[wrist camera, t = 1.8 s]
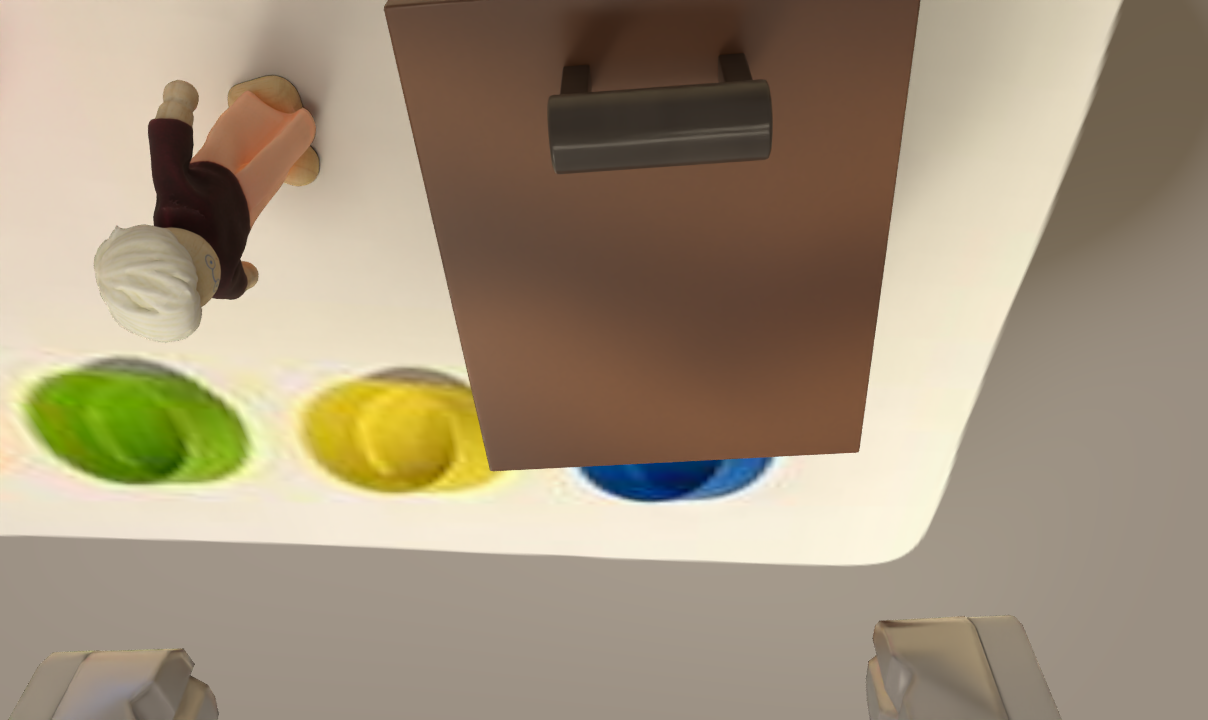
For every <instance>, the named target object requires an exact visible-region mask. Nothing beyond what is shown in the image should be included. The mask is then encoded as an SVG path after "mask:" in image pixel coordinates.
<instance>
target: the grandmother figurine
mask: <svg viewBox="0 0 1208 720" xmlns="http://www.w3.org/2000/svg"><path fill="white" fill-rule="evenodd" d="M163 101H164V103H163V104H161V105H160V106H159V109H158V111H157V115H156V118H155V119H152V120H151V121H150V122H149V125H148V137H149V144H150V155H151V168H152V177H153V182H154V187H155V191H156V193H157V200H156V207H155V211H154V216H153V219H154V226H150V225H138V226H133V227H130V228H127V229H123V228H119V227H118V226H116V227H115V230H113V232H112V234H111V235H110V237H109V239H107V240H105V241H104V242H103V243H102V244H101V246H100V247H99V248H98V250H97V253H96V255H95V259H94V269H95V278H96V281H97V285H98V287H99V291H100V295H101V297H102V299H103V300H104V302H105V304H106V305H107V306H108V308H109V311H110V313H111V315H112V317H113V318H114V320H115V321H116V322H117V323H118V324H119V325H120V326H121V327H123V328H124V329H126V330H127V331H129V332H131V333H133V334H136V335H138V336H141V337H144V338H146V339H149V340H152V341H157V342H164V343H167V342H175V341H179V340H182V339H185V338H187V337H188V336H189V335H191V334H192V333H193V332H194V331H195V330H196V329H197V328H198V327H199V324H200V321H201V316H202V308H201V307H202V306H204V305H205V304H206V303H207V302H208V301H209V300H210V299H211V298H215V299H229V300H232V299H237V298H239V297H240V296H241V295H243V293H244V292H245V291H246V290H248V289H249V288H252V287H253V286H254V285H255V284H256V283H257V281H258V271H257V269H256V267H255V266H254V265H252V264H251V263H249V262H245V261H241V260H240V258H241V256H242V254H243V251H244V249H245V246H246V242H247V237H248V235H249V233H250V231H251V228H252V226H253V224H254V222H255V221H256V219H257V218H258V216H259V215H260V213H261V212H262V210H263V209H264V208H265V206H266V205H267V204H268V202H269V201H270V200H271V198H272V197H273V196H274V195H275V193H276V192H277V191H278V190H279V188H280V187H281V185H282V184H283V182H284V183H287V184H290V185H294V186H303V185H307V184H309V183H311V182H313V181H314V180H315V179H316V177H317V175H318V173H319V159H318V156H317V154H316V153H315V151H314V150H313V149H312V148H311V147H310V144H311V143H312V142H313V140H314V137H315V132H316V126H315V122H314V119H313V118H312V116H311V114H310V112H309V111H308V110H306V109H304V108H302V103H301V100H300V97H299V94H298V92H297V90H296V89H295V87H294V86H293V85H292V84H291V83H290V82H289V81H287V80H286V79H284V78H282V77H278V76H265V77H261V78H257V79H254V80H251V81H247V82H243V83H240V84H237V85H235V86H234V87H232V88H231V89H230V91H229V93H228V106H229V108H228V109H227V110H226V111H225V112H224V113H223V114H222V115H221V116H220V117H219V118H218V120H217V122H216V123H215V125H214V126H213V127H212V129H211V130H210V132H209V134H208V136H207V139H206V142H205V143H204V145H203V147H202V148H201V149H200V150H199V152H198V153H197V154H196V155H195V156H194V157H193V158H192V153H193V145H194V144H193V128H192V125H193V120H194V116H193V111H194V110H195V109H196V107H197V105H198V101H199V95H198V92H197V90H196V89H195V88H194V87H193V85H191V84H189V83H188V82H185V81H182V80H176V81H172V82H170V83H168V84H167V85H166V86H165V89H164V92H163Z"/></svg>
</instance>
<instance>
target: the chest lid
mask: <svg viewBox="0 0 1208 720" xmlns="http://www.w3.org/2000/svg"><path fill="white" fill-rule="evenodd" d="M919 7H920V0H388V1H387V2H386V4H385V6H384V11H385V16H386V20H387V24H388V29H389V33H390V37H391V42H392V46H393V51H394V55H395V59H396V64H397V68H398V72H399V77H400V81H401V85H402V90H403V94H404V98H405V103H406V107H407V111H408V116H409V120H410V124H411V129H412V133H413V137H414V142H415V146H416V150H417V155H418V159H419V164H420V168H421V172H422V177H423V181H424V185H425V190H426V194H427V198H428V203H429V207H430V211H431V216H432V220H433V224H434V229H435V233H436V237H437V242H438V246H439V250H440V255H441V259H442V264H443V268H444V272H445V277H446V281H447V285H448V290H449V294H450V298H451V303H452V307H453V311H454V316H455V320H456V324H457V329H458V333H459V337H460V342H461V346H462V350H463V355H464V359H465V363H466V368H467V372H468V377H469V381H470V385H471V390H472V394H473V398H474V403H475V407H476V411H477V416H478V420H479V424H480V429H481V433H482V437H483V442H484V446H485V450H486V455H487V459H488V463H489V468H490V470H491V471H506V470H525V469H545V468H564V467H584V466H603V465H623V464H642V463H662V462H681V461H701V460H720V459H740V458H759V457H779V456H798V455H818V454H837V453H856V452H859V448H860V441H861V434H862V426H863V419H864V412H865V404H866V397H867V390H868V382H869V375H870V367H871V360H872V353H873V345H874V338H875V331H876V323H877V316H878V309H879V301H880V294H881V287H882V279H883V272H884V265H885V257H886V250H887V242H888V235H889V228H890V220H891V213H892V206H893V198H894V191H895V184H896V176H897V169H898V162H899V154H900V147H901V140H902V132H903V125H904V117H905V110H906V103H907V95H908V88H909V81H910V73H911V66H912V59H913V51H914V44H915V37H916V29H917V22H918V15H919Z"/></svg>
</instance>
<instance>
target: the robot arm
mask: <svg viewBox="0 0 1208 720" xmlns="http://www.w3.org/2000/svg"><path fill="white" fill-rule="evenodd" d="M873 643H874V647H875V651H876V656H875V657H873V658H872V659H871V660H869V661H868V668H867V675H866V690H867V705H868V711H869V717H870V720H1062V719H1061V717H1060V714H1059V711H1058V709H1057V707H1056V705H1055V702H1054V699H1053V697H1052V695H1051V692H1050V690H1049V687H1048V685H1047V683H1046V681H1045V678H1044V675H1043V673H1042V670H1041V668H1040V666H1039V663H1038V661H1037V659H1036V656H1035V654H1034V652H1033V649H1032V646H1031V644H1030V642H1029V639H1028V637H1027V635H1026V632H1025V630H1024V627H1023V625H1022V624H1021V623H1020V622H1019V621H1018V620H1017V618H1016V617H1014V616H1011V615H1002V616H982V617H965V616H957V617H942V618H941V617H939V618H922V619H903V620H886V621H879V622H878V623H877V624H876V625H875V629H874V634H873ZM194 665H195V664H194V662H193V661H192V659H191V658H190V657H189V655H188V654H187V653H186V651H185V650H184V649H152V650H119V651H98V650H96V651H74V652H53V653H52V654H51V655H50V656H48V657H47V658H46V659H45V660H44V661H43V662H42V663H41V664H40V665H39V666H38V667H37V669H36V671H35V673H34V674H33V676H32V678H31V680H30V682H29V683H28V685H27V687H26V689H25V690H24V692H23V694H22V696H21V697H20V699H19V701H18V703H17V705H16V706H15V708H14V710H13V712H12V714H11V715H10V717H9V719H8V720H218V715H219V712H218V708H217V703H216V698H215V696H214V694H213V693H212V691H211V689H210V687H209V686H208V685H207V684H205V683H204V682H202V681H200V680H198V679H196V678H194V677H192V676H191V672H192V670H193V667H194Z"/></svg>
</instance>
